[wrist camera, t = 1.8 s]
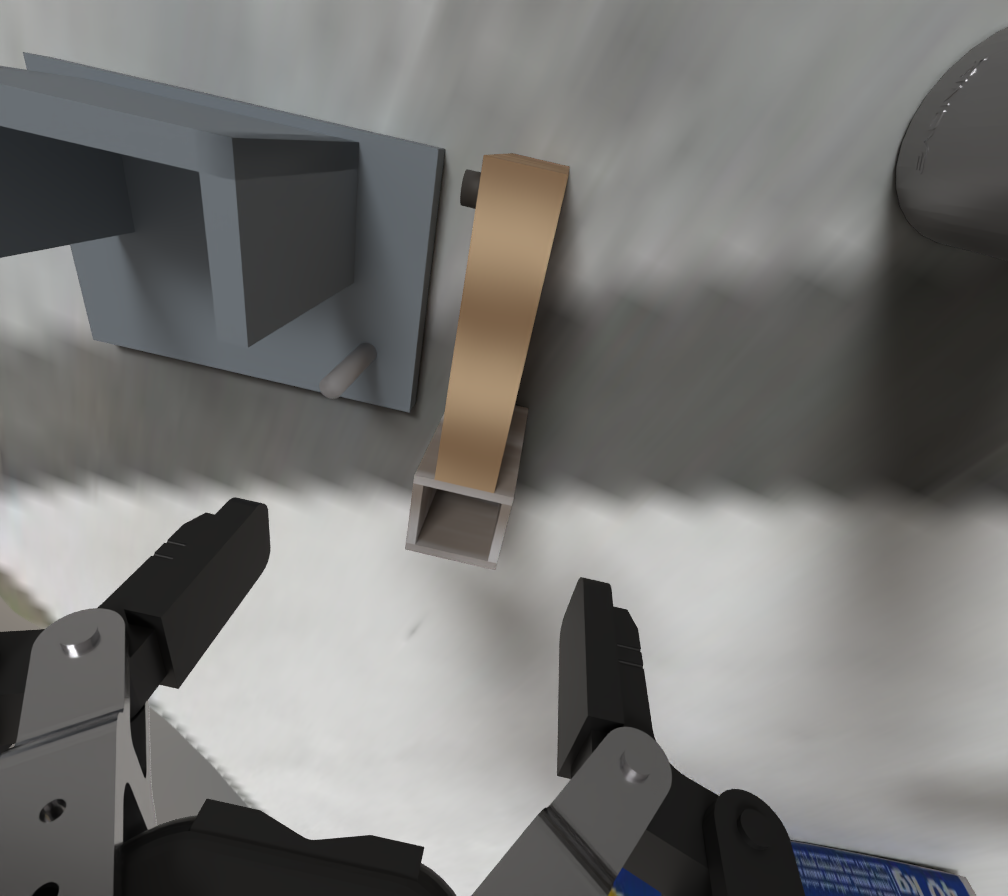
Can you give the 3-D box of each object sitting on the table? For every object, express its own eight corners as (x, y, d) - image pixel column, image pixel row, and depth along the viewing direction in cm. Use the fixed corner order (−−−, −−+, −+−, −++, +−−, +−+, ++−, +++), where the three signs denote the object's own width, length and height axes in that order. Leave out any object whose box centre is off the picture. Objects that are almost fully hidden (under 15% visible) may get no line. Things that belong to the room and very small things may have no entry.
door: (513, 469, 36) (495, 570, 27) (441, 453, 36) (401, 548, 27) (588, 170, 26) (597, 181, 17) (489, 148, 26) (449, 147, 17)
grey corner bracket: (444, 149, 26) (357, 148, 15) (415, 402, 34) (343, 519, 23) (49, 56, 26) (-314, -8, 15) (111, 332, 34) (-101, 416, 23)
